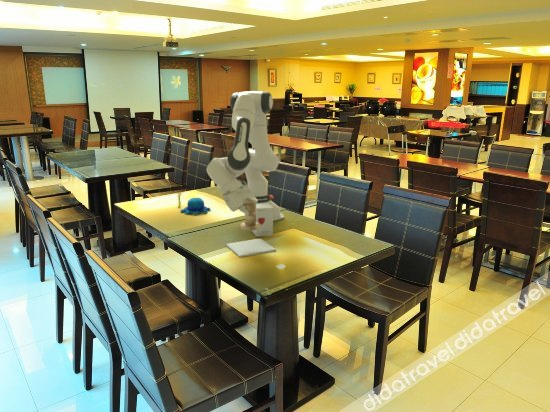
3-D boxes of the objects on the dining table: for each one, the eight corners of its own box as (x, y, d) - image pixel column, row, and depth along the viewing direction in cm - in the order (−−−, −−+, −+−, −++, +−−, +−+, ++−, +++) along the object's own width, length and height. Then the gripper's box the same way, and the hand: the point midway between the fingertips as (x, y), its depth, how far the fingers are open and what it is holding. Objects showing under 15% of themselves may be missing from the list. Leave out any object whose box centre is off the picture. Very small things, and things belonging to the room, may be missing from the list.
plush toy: (215, 212, 251) (215, 199, 249) (190, 217, 241) (189, 203, 239) (201, 206, 264) (200, 193, 261) (176, 210, 253) (175, 197, 251)
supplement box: (255, 237, 209) (256, 208, 205) (252, 231, 218) (252, 203, 214) (273, 235, 212) (273, 207, 208) (268, 230, 220) (269, 202, 216)
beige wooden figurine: (255, 223, 198) (255, 196, 194) (263, 228, 190) (264, 200, 187) (237, 225, 194) (237, 198, 190) (245, 231, 186) (245, 202, 183)
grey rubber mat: (260, 239, 206) (260, 238, 205) (275, 250, 192) (275, 249, 192) (226, 245, 198) (226, 243, 197) (239, 257, 184) (239, 255, 184)
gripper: (225, 189, 180) (246, 214, 179) (246, 180, 199) (265, 203, 198) (216, 198, 183) (236, 222, 182) (238, 189, 201) (256, 211, 200)
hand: (251, 212), depth 190 cm, fingers closed on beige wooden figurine, 5 cm apart
